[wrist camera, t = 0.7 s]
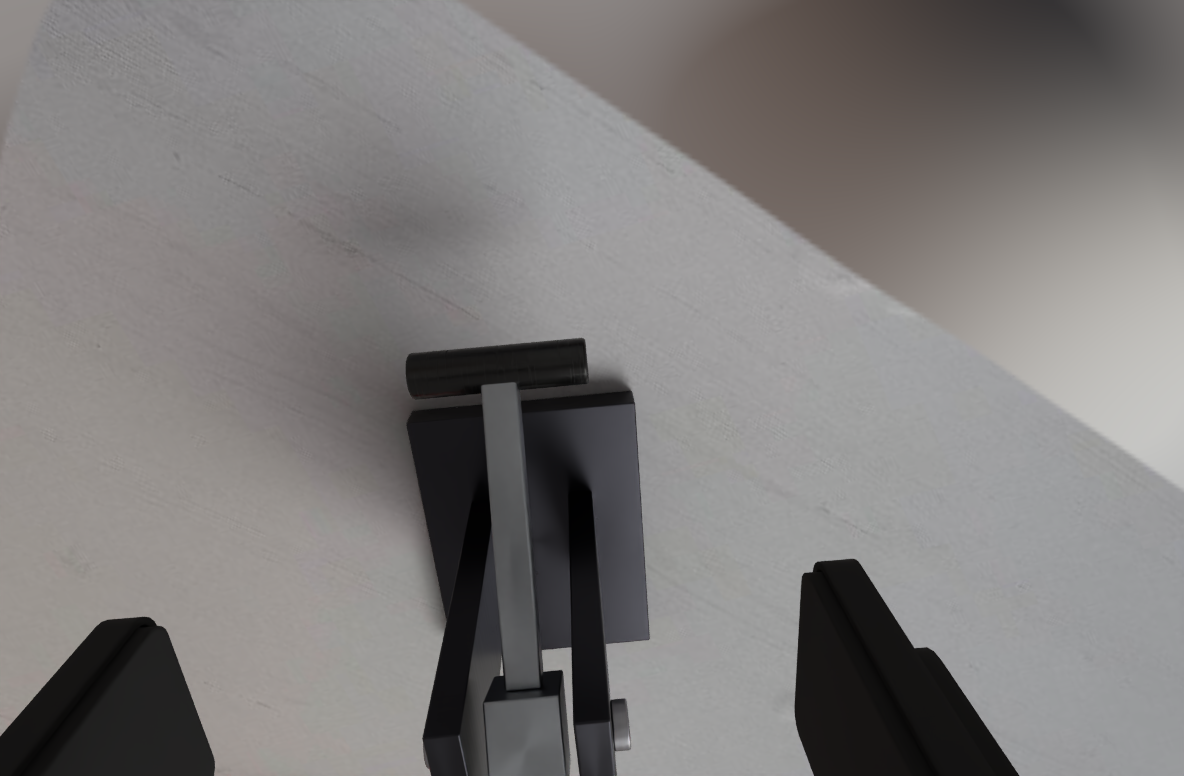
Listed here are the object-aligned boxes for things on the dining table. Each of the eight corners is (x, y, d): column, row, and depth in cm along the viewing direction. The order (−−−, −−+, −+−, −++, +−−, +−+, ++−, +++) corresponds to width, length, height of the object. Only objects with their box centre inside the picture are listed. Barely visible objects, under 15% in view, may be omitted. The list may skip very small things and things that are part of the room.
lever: (418, 358, 23) (398, 348, 21) (585, 343, 24) (584, 331, 21) (448, 772, 22) (431, 811, 20) (622, 755, 22) (626, 792, 20)
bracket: (411, 410, 29) (311, 633, 17) (631, 390, 29) (681, 598, 17) (457, 639, 34) (403, 937, 22) (646, 622, 34) (693, 908, 22)
